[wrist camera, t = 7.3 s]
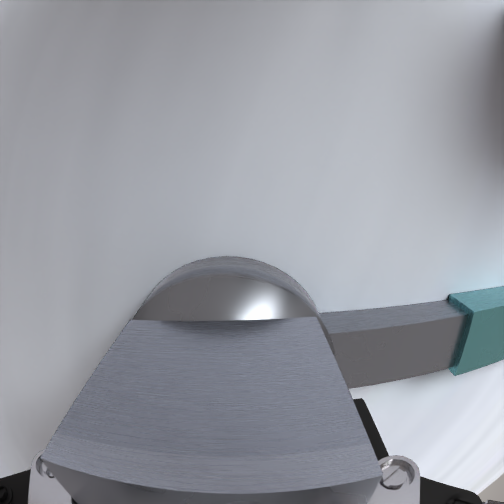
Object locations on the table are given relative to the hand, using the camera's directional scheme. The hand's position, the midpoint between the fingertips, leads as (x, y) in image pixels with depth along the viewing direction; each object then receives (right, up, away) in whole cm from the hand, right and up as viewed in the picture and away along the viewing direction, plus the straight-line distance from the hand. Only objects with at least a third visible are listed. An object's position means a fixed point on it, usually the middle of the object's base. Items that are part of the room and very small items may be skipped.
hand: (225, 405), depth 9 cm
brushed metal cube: (0, 0, +1) cm, 1 cm away
